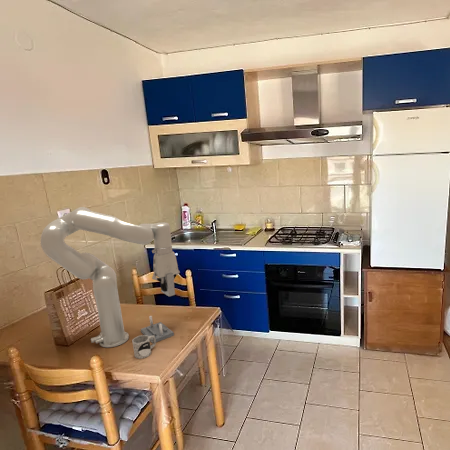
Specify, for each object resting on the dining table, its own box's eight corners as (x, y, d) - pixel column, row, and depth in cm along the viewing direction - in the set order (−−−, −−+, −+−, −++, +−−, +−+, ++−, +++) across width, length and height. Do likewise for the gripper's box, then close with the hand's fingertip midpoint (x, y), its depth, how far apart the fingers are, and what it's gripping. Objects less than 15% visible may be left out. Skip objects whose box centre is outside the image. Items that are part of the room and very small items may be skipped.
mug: (140, 360, 143) (138, 345, 142) (131, 355, 148) (129, 340, 147) (161, 349, 150) (159, 334, 149) (151, 344, 155) (149, 330, 154)
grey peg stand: (174, 335, 161) (172, 321, 160) (152, 343, 156) (150, 329, 154) (161, 324, 172) (159, 312, 171) (141, 332, 167) (139, 318, 166)
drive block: (175, 294, 163) (172, 273, 161) (168, 296, 161) (166, 274, 159) (167, 290, 169) (165, 269, 167) (161, 291, 168) (159, 270, 166)
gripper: (149, 255, 154) (154, 297, 157) (183, 248, 163) (187, 287, 166) (142, 252, 160) (147, 292, 163) (176, 245, 169) (180, 283, 172)
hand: (167, 289), depth 165 cm, fingers closed on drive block, 3 cm apart
